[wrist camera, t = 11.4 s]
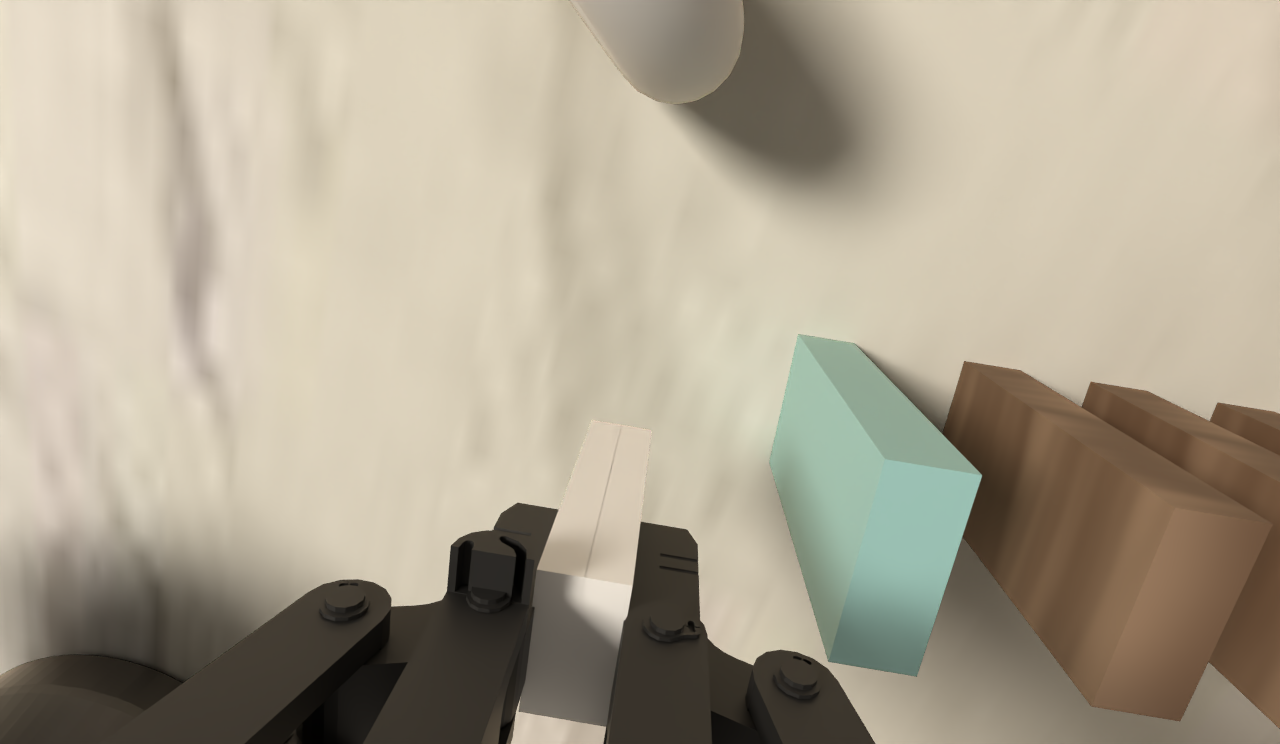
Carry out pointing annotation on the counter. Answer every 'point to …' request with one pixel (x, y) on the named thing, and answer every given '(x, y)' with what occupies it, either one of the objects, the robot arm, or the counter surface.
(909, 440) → the tile
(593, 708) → the robot arm
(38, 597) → the counter surface
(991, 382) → the domino
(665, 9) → the donut
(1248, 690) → the domino
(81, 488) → the counter surface
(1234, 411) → the domino
